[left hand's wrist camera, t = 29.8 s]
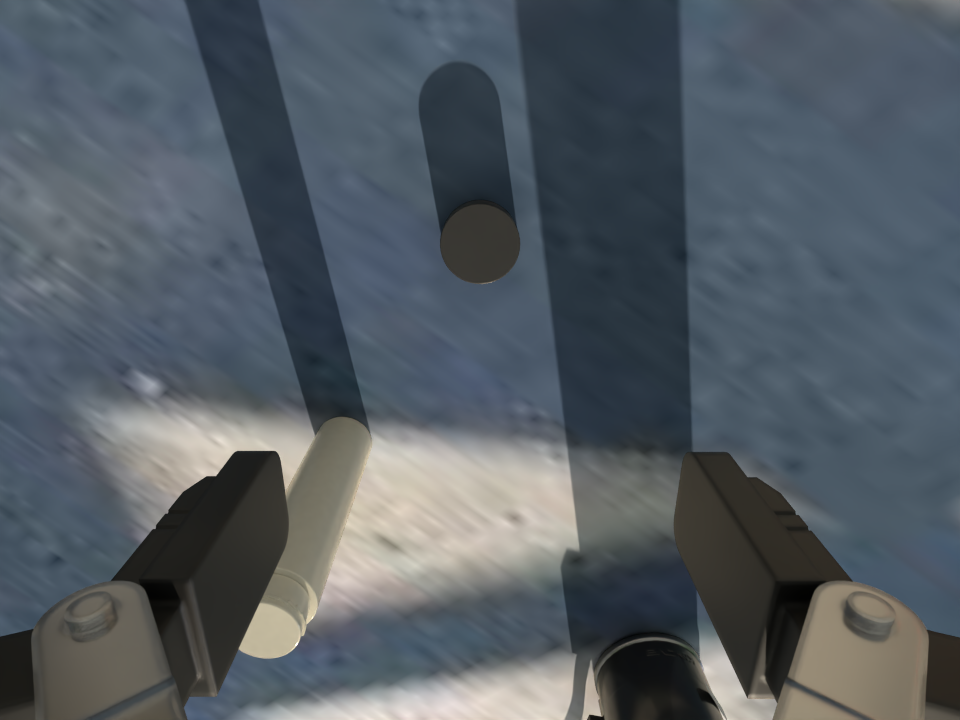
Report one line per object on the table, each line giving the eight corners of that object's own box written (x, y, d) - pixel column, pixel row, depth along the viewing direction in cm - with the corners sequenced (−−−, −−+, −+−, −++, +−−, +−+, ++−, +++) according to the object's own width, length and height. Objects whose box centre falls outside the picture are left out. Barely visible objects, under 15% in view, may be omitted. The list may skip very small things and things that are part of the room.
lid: (451, 191, 37) (449, 195, 35) (526, 210, 37) (529, 214, 35) (435, 266, 38) (432, 274, 36) (507, 283, 39) (508, 291, 37)
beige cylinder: (383, 444, 43) (325, 635, 27) (344, 474, 44) (265, 676, 28) (344, 405, 42) (259, 581, 26) (304, 438, 43) (198, 627, 27)
